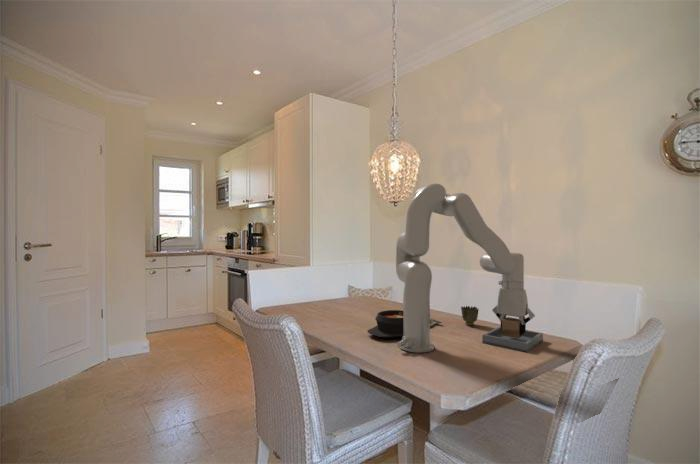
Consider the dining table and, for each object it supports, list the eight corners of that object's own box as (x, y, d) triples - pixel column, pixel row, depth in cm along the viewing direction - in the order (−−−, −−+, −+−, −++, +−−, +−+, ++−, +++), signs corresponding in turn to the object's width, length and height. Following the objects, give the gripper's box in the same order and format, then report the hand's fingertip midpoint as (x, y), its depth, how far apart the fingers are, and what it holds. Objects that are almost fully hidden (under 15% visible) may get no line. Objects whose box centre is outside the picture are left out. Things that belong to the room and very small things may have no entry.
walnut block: (518, 338, 135) (518, 322, 135) (501, 335, 139) (501, 319, 139) (523, 335, 139) (523, 319, 139) (507, 332, 143) (507, 316, 143)
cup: (480, 327, 160) (480, 309, 160) (464, 327, 160) (464, 309, 160) (475, 323, 167) (475, 305, 167) (459, 323, 167) (459, 305, 167)
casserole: (402, 324, 165) (402, 306, 165) (433, 334, 150) (433, 313, 150) (357, 334, 150) (357, 313, 150) (387, 345, 135) (387, 322, 135)
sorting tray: (527, 352, 127) (527, 343, 127) (482, 342, 138) (482, 334, 138) (542, 341, 140) (542, 333, 140) (500, 333, 151) (500, 325, 151)
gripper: (486, 284, 142) (486, 330, 142) (533, 289, 130) (533, 339, 130) (494, 282, 148) (494, 326, 148) (540, 286, 136) (540, 334, 136)
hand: (512, 332), depth 139 cm, fingers closed on walnut block, 6 cm apart
